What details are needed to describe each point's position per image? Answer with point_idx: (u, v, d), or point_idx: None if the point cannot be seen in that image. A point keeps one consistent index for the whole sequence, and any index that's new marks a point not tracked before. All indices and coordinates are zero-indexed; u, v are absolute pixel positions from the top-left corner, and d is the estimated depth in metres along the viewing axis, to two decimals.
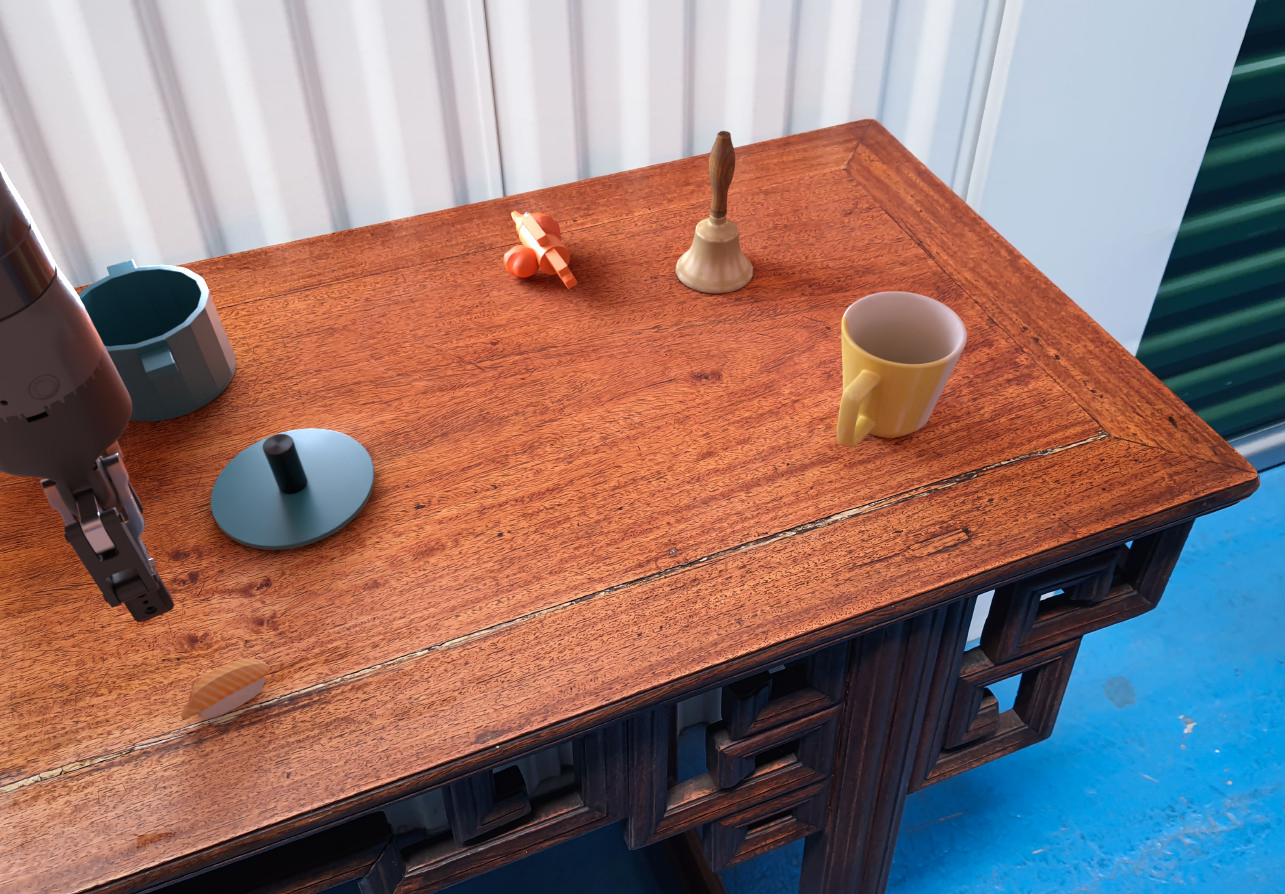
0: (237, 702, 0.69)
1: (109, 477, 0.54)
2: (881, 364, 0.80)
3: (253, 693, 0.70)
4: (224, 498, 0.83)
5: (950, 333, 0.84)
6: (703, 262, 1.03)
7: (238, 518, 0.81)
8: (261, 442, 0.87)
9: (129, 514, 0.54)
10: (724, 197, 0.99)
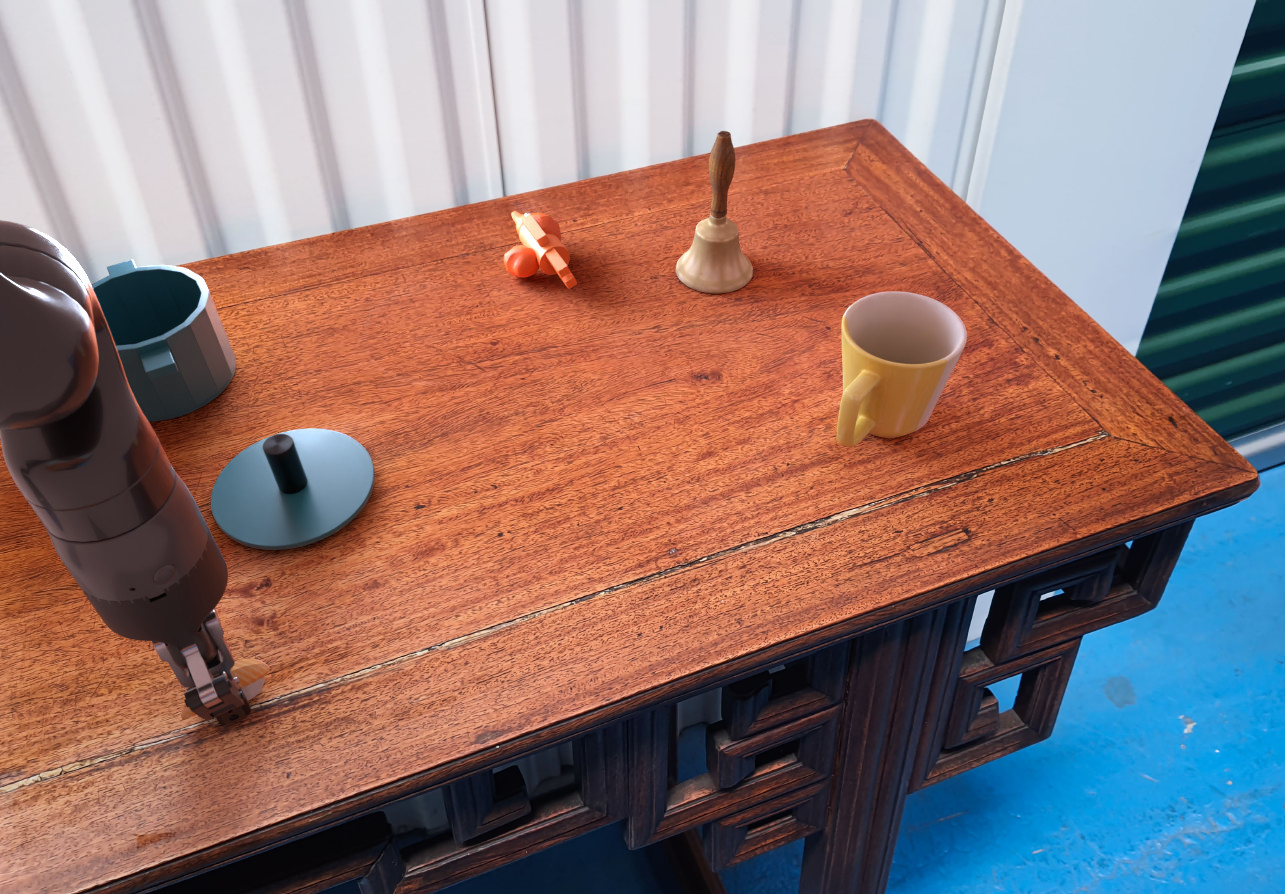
0: None
1: (208, 631, 0.62)
2: (881, 364, 0.80)
3: (253, 693, 0.70)
4: (224, 498, 0.83)
5: (950, 333, 0.84)
6: (703, 262, 1.03)
7: (238, 518, 0.81)
8: (261, 442, 0.87)
9: (223, 656, 0.64)
10: (724, 197, 0.99)
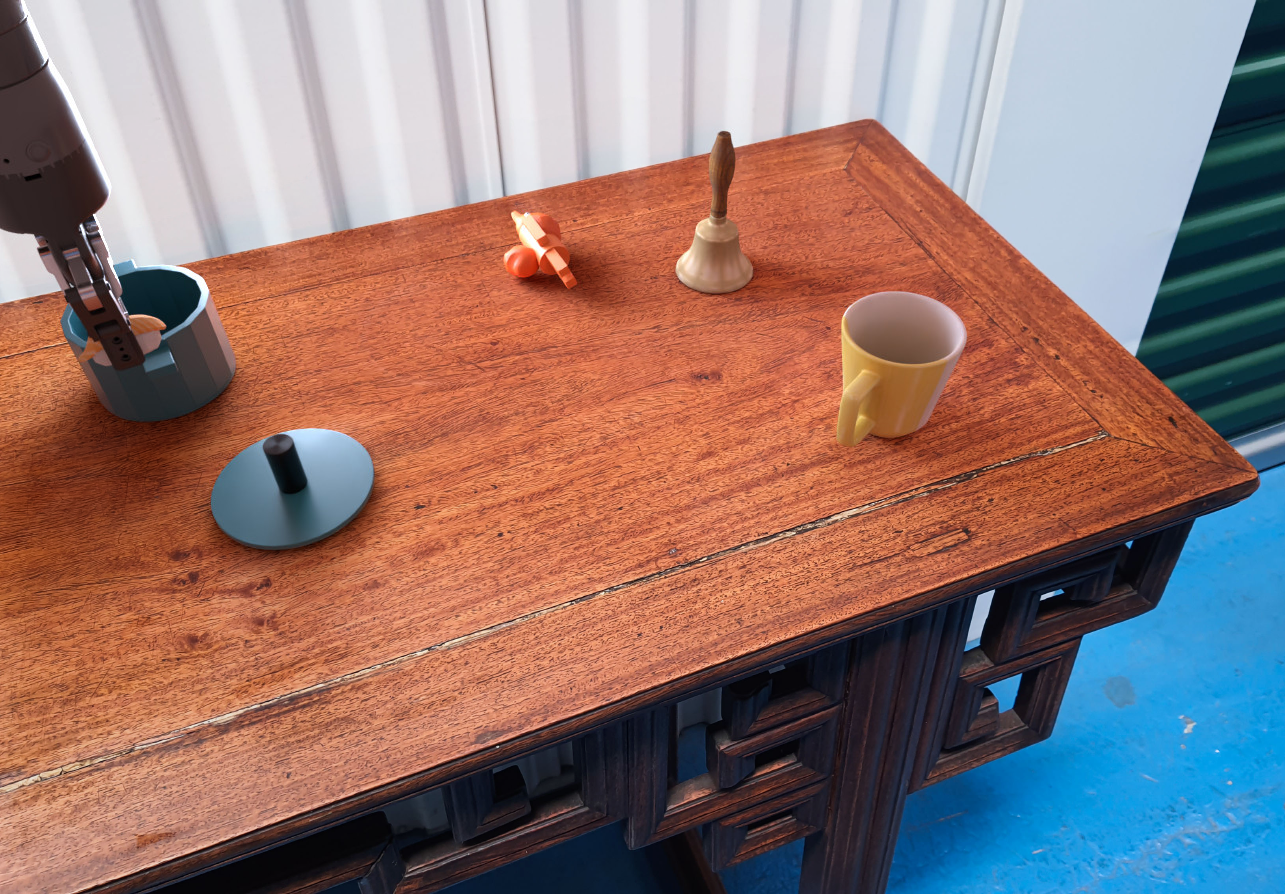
0: None
1: (92, 248, 0.66)
2: (881, 364, 0.80)
3: (148, 345, 0.73)
4: (224, 498, 0.83)
5: (950, 333, 0.84)
6: (703, 262, 1.03)
7: (238, 518, 0.81)
8: (261, 442, 0.87)
9: (110, 281, 0.68)
10: (724, 197, 0.99)
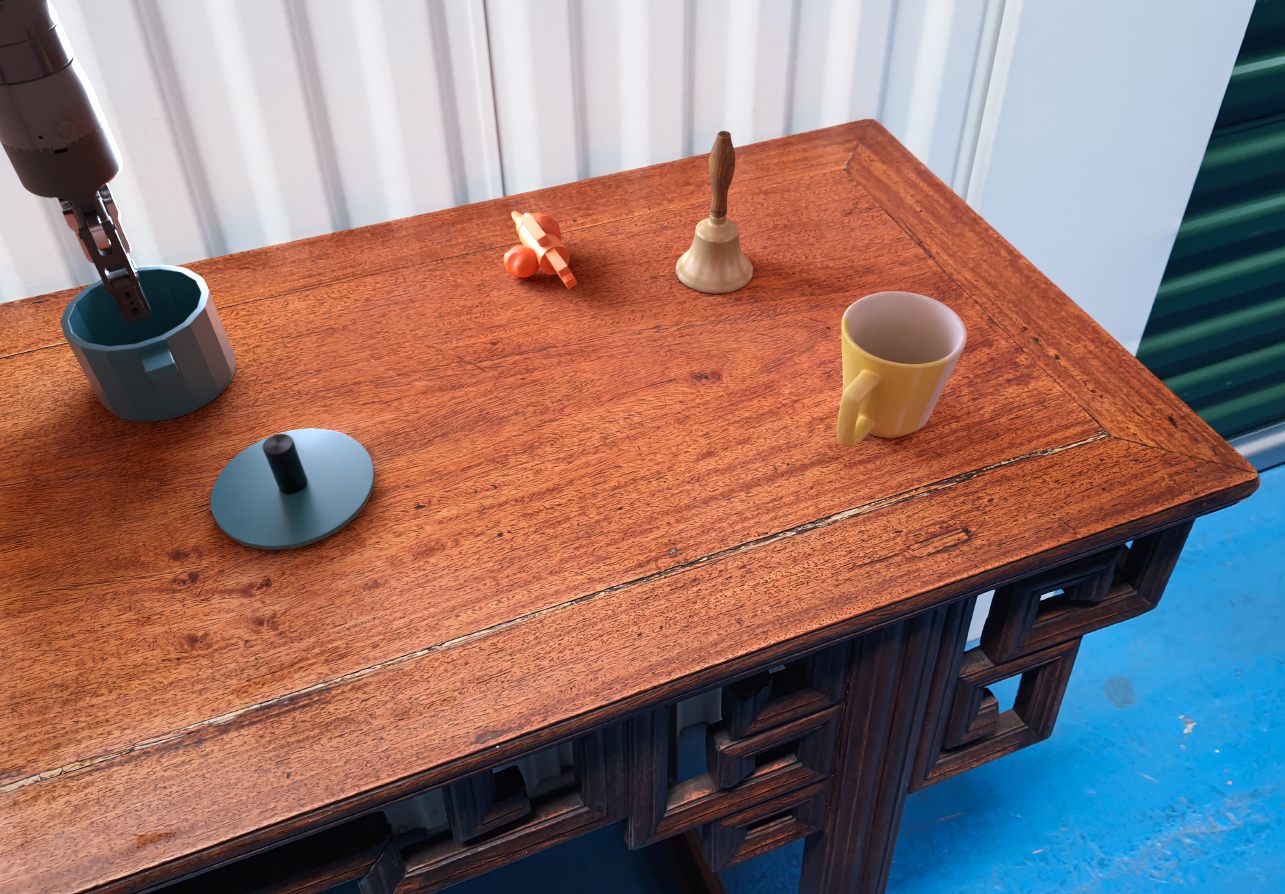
0: None
1: (107, 211, 0.81)
2: (881, 364, 0.80)
3: None
4: (224, 498, 0.83)
5: (950, 333, 0.84)
6: (703, 262, 1.03)
7: (238, 518, 0.81)
8: (261, 442, 0.87)
9: (120, 237, 0.81)
10: (724, 197, 0.99)
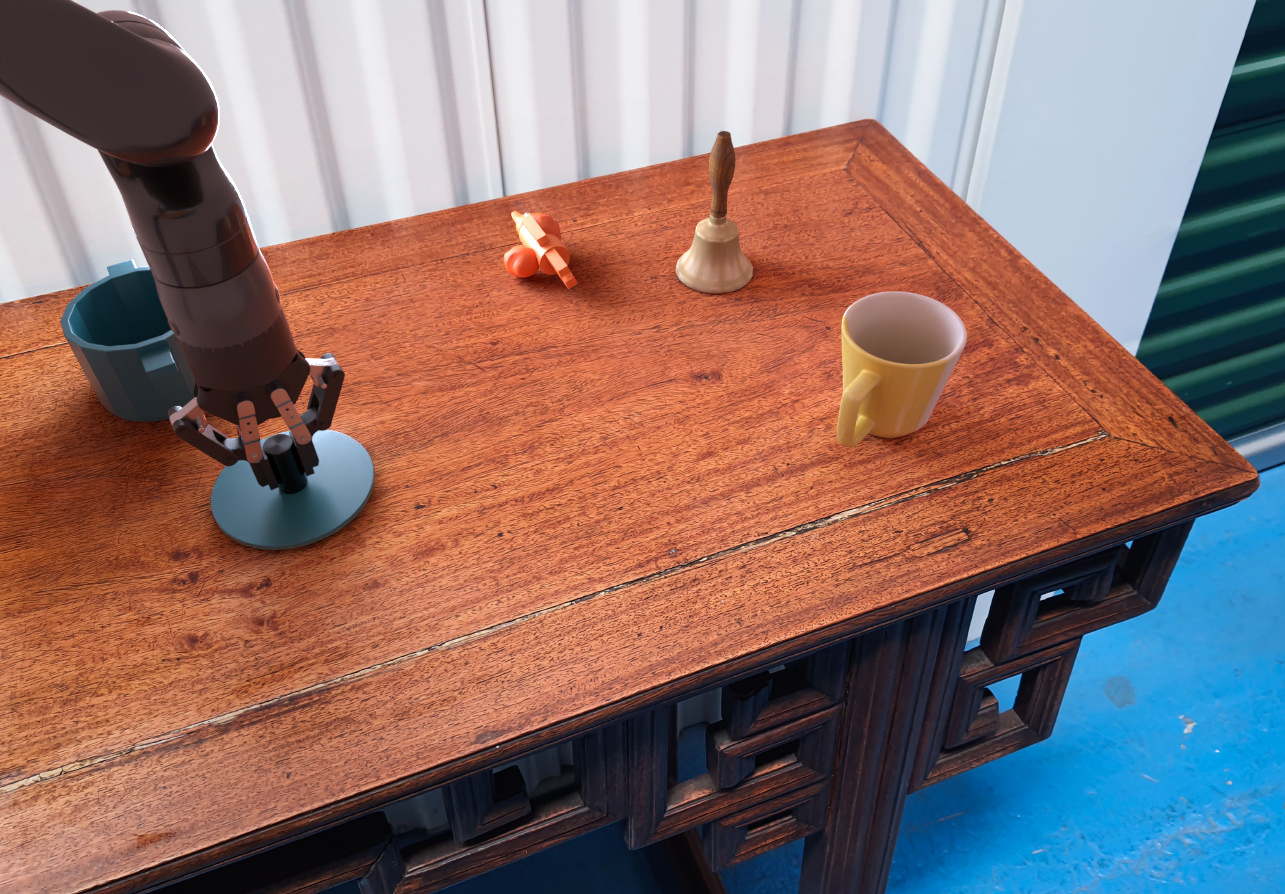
0: None
1: (232, 404, 0.74)
2: (881, 364, 0.80)
3: None
4: (224, 498, 0.83)
5: (950, 333, 0.84)
6: (703, 262, 1.03)
7: (238, 518, 0.81)
8: (261, 442, 0.87)
9: (240, 431, 0.76)
10: (724, 197, 0.99)
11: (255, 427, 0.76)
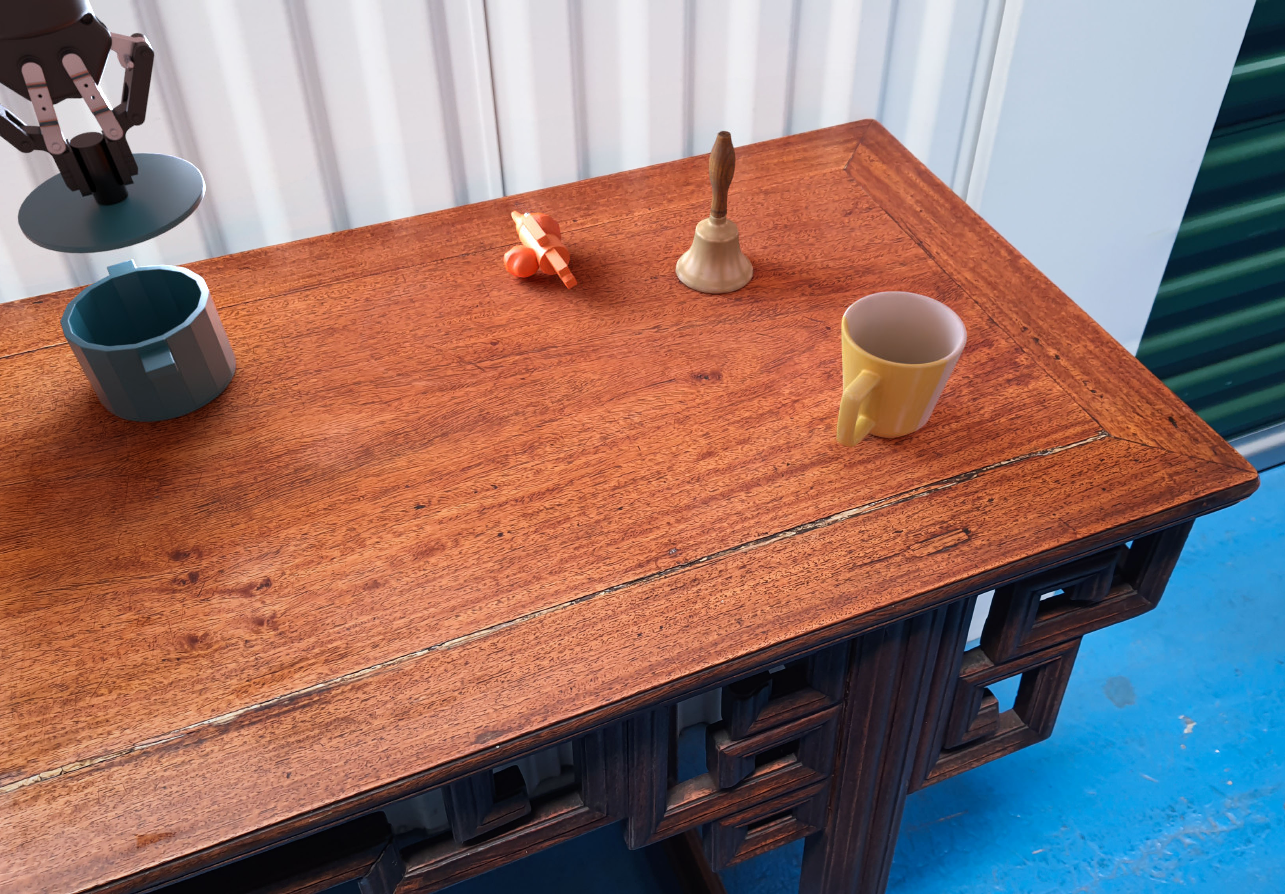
0: None
1: (18, 69, 0.67)
2: (881, 364, 0.80)
3: None
4: (34, 208, 0.75)
5: (950, 333, 0.84)
6: (703, 262, 1.03)
7: (45, 224, 0.74)
8: None
9: None
10: (724, 197, 0.99)
11: (49, 102, 0.68)
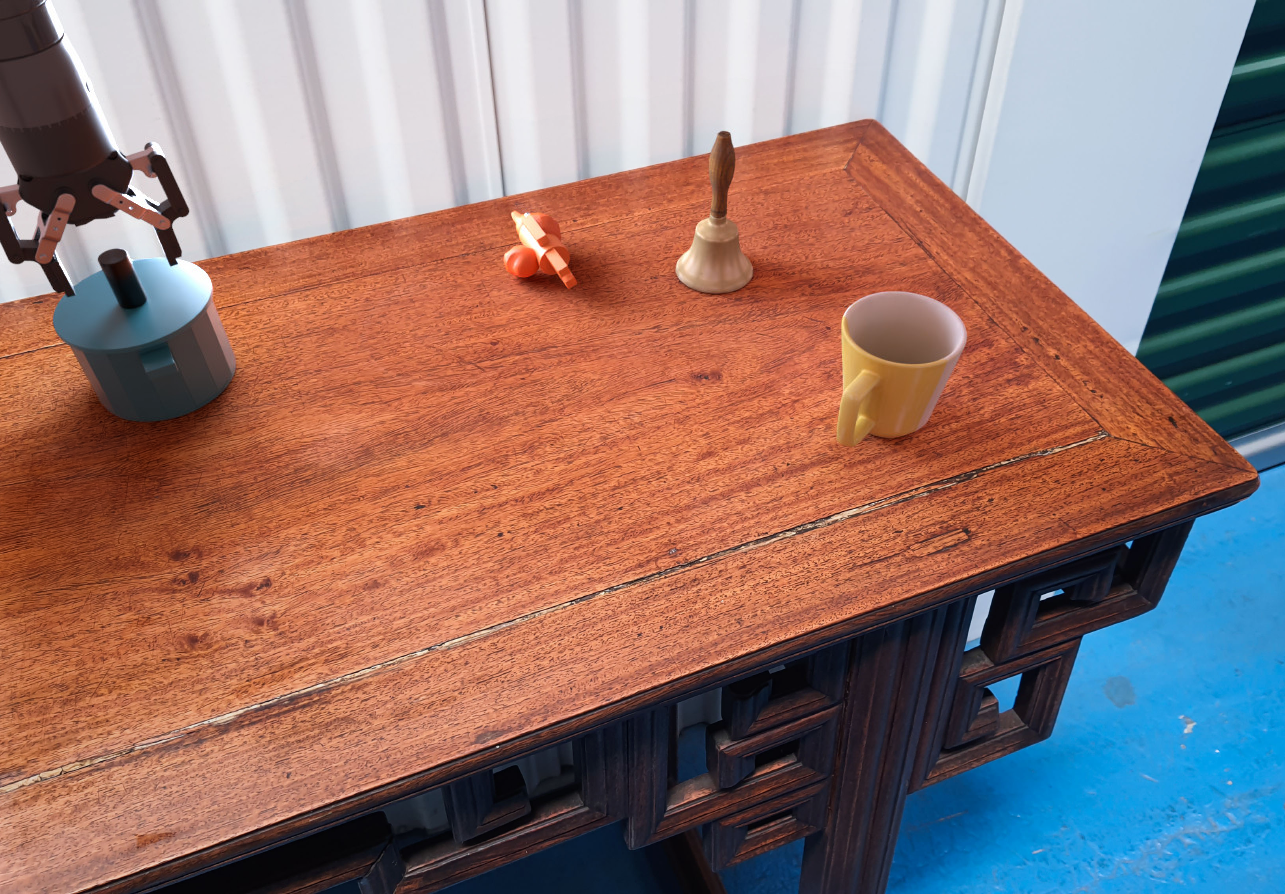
0: None
1: (54, 198, 0.79)
2: (881, 364, 0.80)
3: None
4: (66, 312, 0.87)
5: (950, 333, 0.84)
6: (703, 262, 1.03)
7: (77, 328, 0.86)
8: None
9: (46, 223, 0.79)
10: (724, 197, 0.99)
11: (63, 226, 0.80)
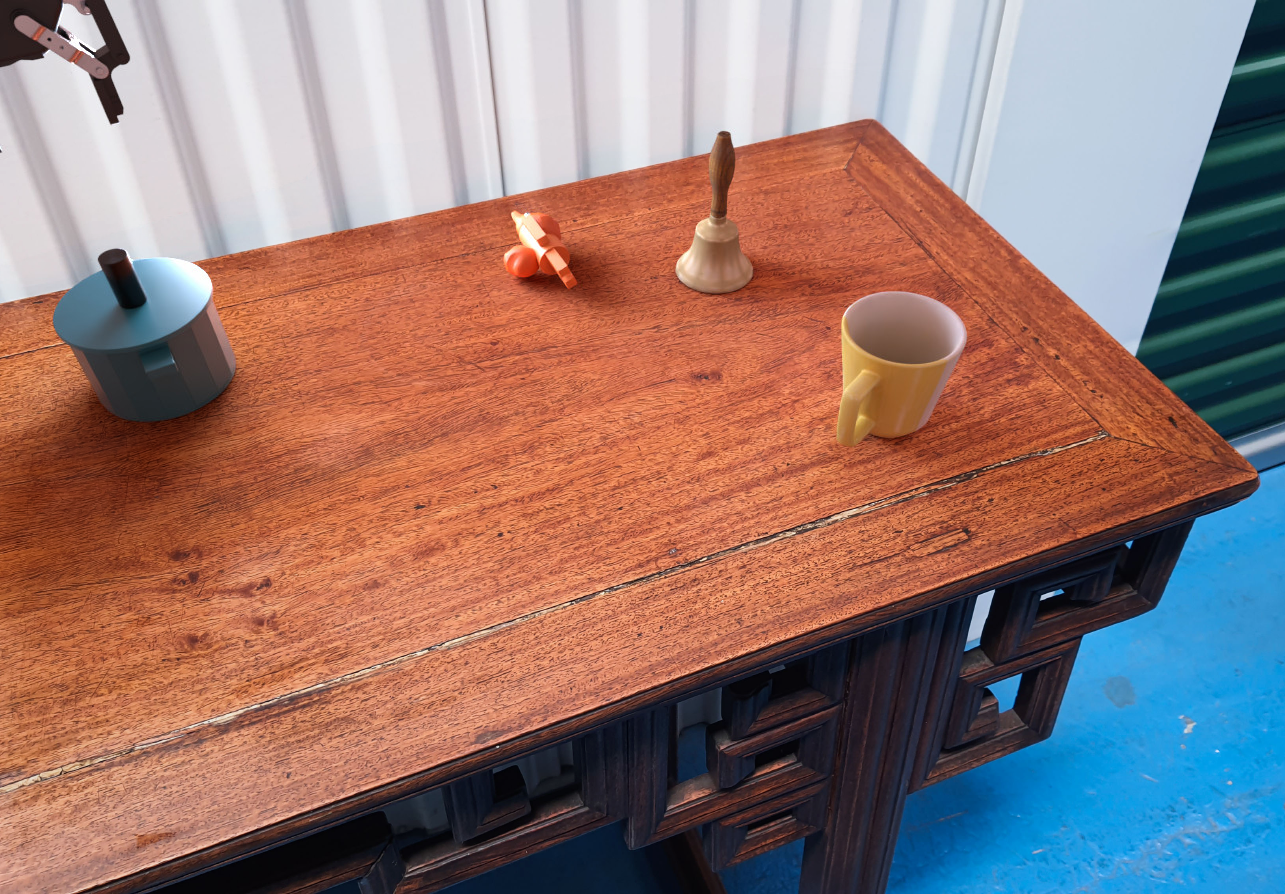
0: None
1: None
2: (881, 364, 0.80)
3: None
4: (66, 312, 0.87)
5: (950, 333, 0.84)
6: (703, 262, 1.03)
7: (77, 328, 0.86)
8: None
9: None
10: (724, 197, 0.99)
11: None
